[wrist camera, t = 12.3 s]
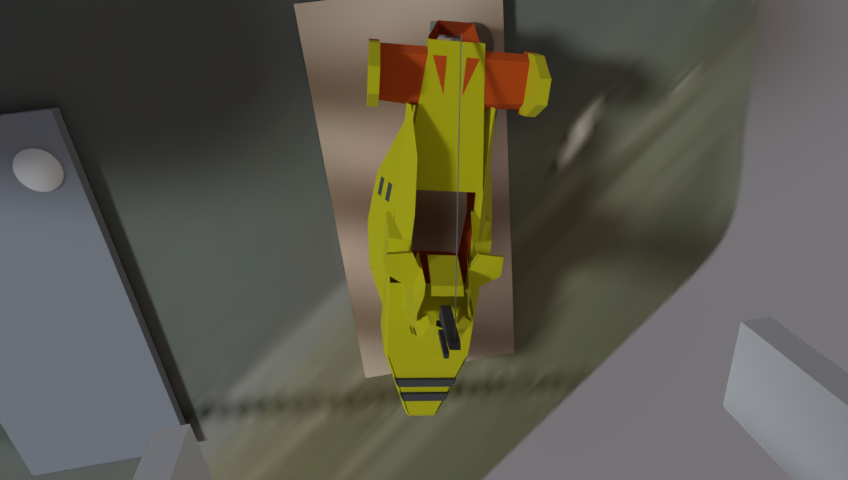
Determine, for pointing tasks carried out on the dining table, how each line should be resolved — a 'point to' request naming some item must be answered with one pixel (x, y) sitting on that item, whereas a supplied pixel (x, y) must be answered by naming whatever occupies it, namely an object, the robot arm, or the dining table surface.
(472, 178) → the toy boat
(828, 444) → the robot arm
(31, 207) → the pad one
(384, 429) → the dining table surface
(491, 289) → the pad two
